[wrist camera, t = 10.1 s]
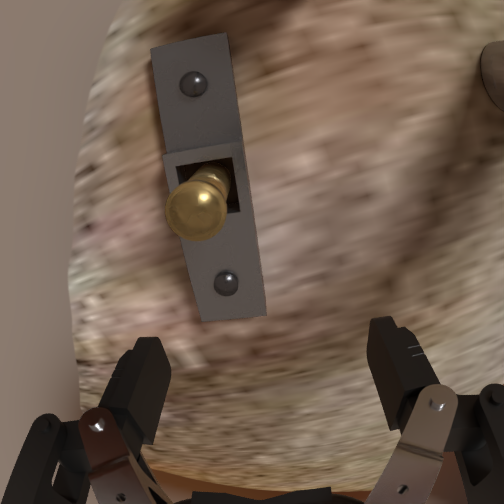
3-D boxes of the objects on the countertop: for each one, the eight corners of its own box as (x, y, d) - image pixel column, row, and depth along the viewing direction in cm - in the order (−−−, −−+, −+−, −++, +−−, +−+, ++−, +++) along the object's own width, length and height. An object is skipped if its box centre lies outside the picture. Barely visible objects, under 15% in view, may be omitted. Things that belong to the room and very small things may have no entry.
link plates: (227, 36, 24) (224, 26, 20) (265, 298, 36) (266, 318, 32) (155, 51, 24) (142, 44, 21) (205, 304, 36) (201, 325, 33)
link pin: (231, 156, 29) (220, 177, 20) (237, 197, 31) (231, 237, 22) (188, 163, 29) (159, 187, 20) (195, 203, 31) (172, 244, 22)
